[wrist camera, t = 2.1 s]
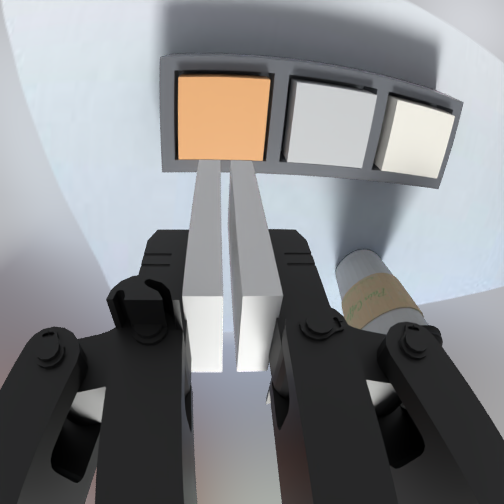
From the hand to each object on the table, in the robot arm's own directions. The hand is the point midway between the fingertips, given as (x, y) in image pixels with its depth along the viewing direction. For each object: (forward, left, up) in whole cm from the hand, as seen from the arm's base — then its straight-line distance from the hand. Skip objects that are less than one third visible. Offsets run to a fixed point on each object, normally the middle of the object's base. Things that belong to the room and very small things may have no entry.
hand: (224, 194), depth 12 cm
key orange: (0, 0, -13) cm, 13 cm away
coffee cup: (-17, +18, -17) cm, 30 cm away
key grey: (-8, 0, -13) cm, 15 cm away
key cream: (-16, 0, -13) cm, 20 cm away
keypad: (-8, 0, -16) cm, 18 cm away
